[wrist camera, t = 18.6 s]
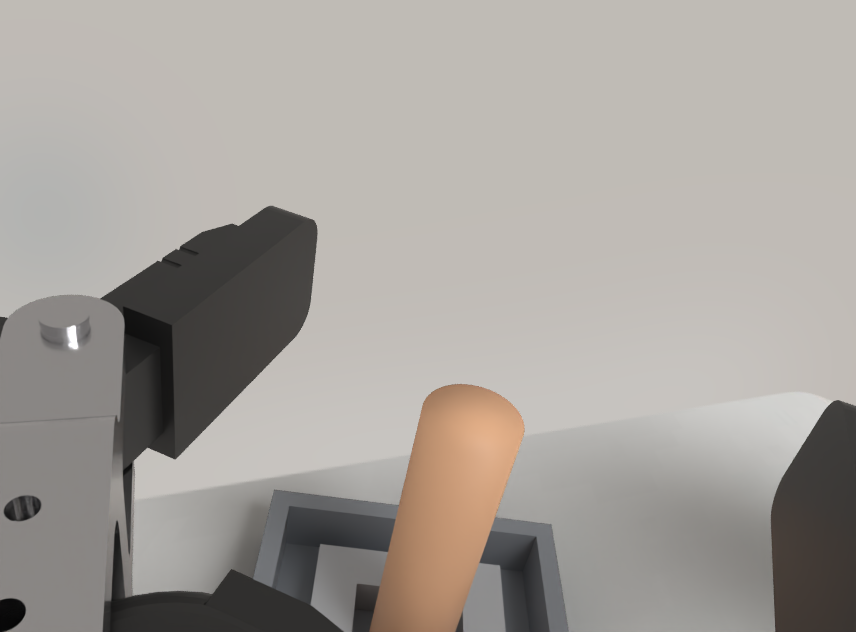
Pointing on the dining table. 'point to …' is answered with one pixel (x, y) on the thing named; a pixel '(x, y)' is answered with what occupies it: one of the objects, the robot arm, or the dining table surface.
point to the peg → (446, 508)
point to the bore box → (366, 556)
